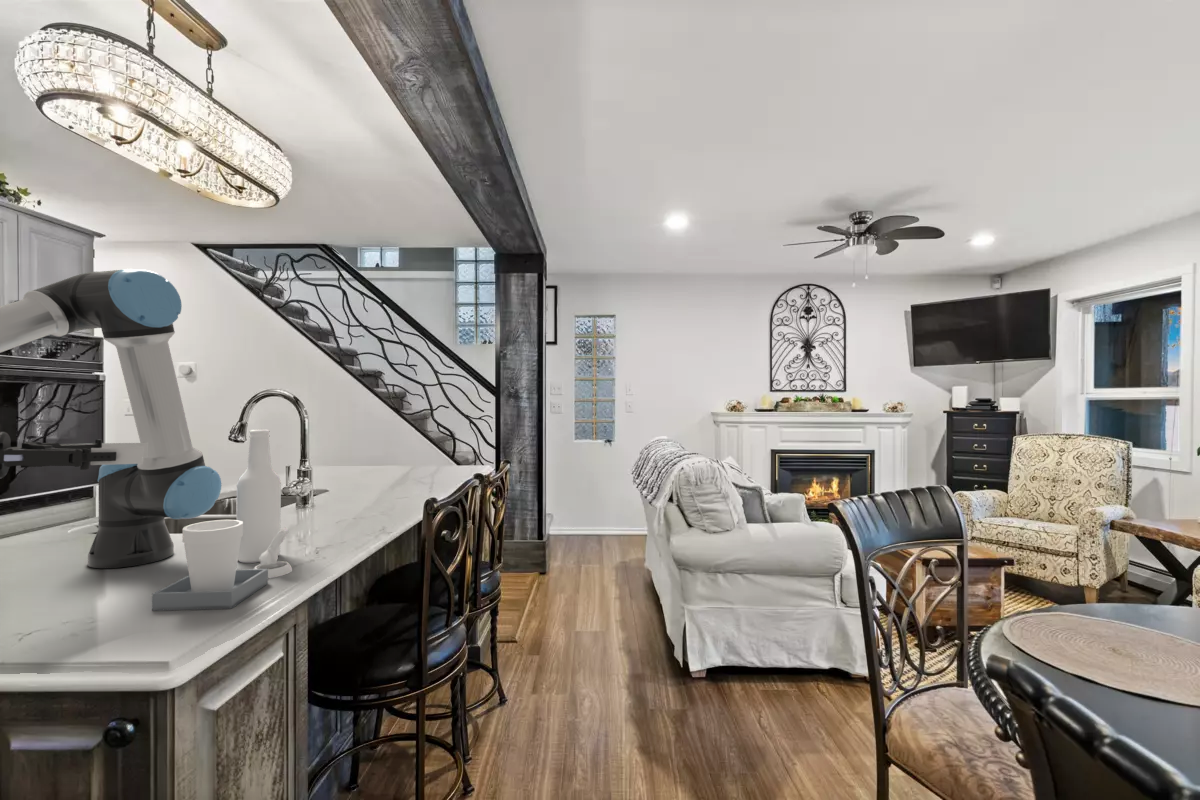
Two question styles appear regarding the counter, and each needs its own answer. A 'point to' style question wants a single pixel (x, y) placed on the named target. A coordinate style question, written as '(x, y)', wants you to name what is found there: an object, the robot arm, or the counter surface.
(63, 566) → the counter surface
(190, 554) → the foam cup
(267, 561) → the hook
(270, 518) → the alcohol
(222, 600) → the tray
